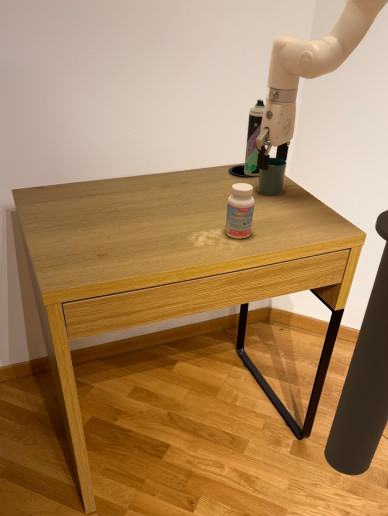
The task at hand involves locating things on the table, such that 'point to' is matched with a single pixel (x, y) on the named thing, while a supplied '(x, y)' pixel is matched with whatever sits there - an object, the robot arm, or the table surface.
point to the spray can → (253, 138)
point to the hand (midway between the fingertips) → (271, 164)
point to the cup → (272, 177)
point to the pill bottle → (240, 211)
